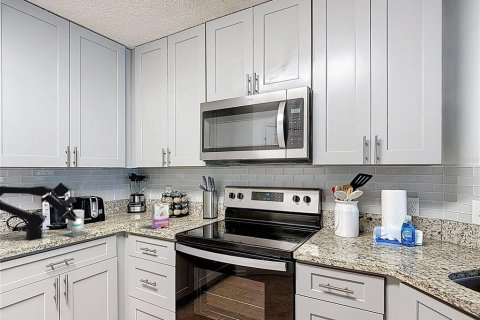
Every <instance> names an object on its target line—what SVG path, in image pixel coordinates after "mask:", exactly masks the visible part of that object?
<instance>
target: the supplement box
mask: <svg viewBox="0 0 480 320" xmlns="http://www.w3.org/2000/svg"><path fill="white" fill-rule="evenodd" d="M73 211H74V213H75V214H76V216H80V217H81V230H83V229H84V223H85V222H84V221H85V219H84V217H85V210H84V209H73ZM67 230H69V231H72V221H71V220H68V219H67Z"/></svg>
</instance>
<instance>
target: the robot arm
mask: <svg viewBox="0 0 480 320" xmlns="http://www.w3.org/2000/svg"><path fill="white" fill-rule="evenodd" d="M70 191H71V188H69V186H67V185H66V184H64V183H63V182H60V183H59V184H58V185H56V186H55V187H54V188H51V187H48V186H47V185H40V186H38V185H37V186H29V187H26V186H5V185H3V186H1V185H0V197H2V196H3V195H4V194H18V195H19V194H20V195H21V194H23V195H31V196H36V197H37V196H38V197H41V198H40V199H41V201H40V203H44V202H46V203H48V204H49V205H50V206H51V207H52V209H55V210H56V211H57V216H58V217H59V218H61V219H65V220H67V221H68V220H71V221H76V219H75V218H74V217H77V216H76V214H75V213H74V211H73V210H74V206H73V205H72V204H74V203H76V202H77V200H76V199H77V198H76V197H75V196H72V195H70V196H68V197H67V198H66V199H65V200H64V199H61V198H59V197H64V196H65V195H66V194H67V193H69V192H70ZM43 196H44V197H43ZM0 211H2V212H5V213H7V214H10V215H13V216H15V217H19V218H20V219H23V220H25V221H26V222H27V223H28V224H26V225H25V228H26V229H25V230H26V231H25V237H24V238H23V239H24V240H28V241H33V240H38V239H43V229H42V227H41V226H42V225H43V223H44V222H46V221H45V220H46V216H45V215H44V214H43V213H41V212H39V211H37V210H35V211H33V212H29V211H27V210H25V209H22V208H19V207H17V206H14V205H12V204H9V203H8V202H4V201H2V200H1V199H0Z"/></svg>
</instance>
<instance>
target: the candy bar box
mask: <svg viewBox="0 0 480 320" xmlns="http://www.w3.org/2000/svg"><path fill="white" fill-rule="evenodd" d="M166 226H169V227H170V203H156V204H151V229H152V228H159V227H166Z"/></svg>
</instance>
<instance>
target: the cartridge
mask: <svg viewBox="0 0 480 320" xmlns="http://www.w3.org/2000/svg"><path fill="white" fill-rule="evenodd" d="M74 218H75V219H76V221H72V230H71V232H72V234H79V233H81V231H82V229H81V217H80V216H77V217H74Z"/></svg>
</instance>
